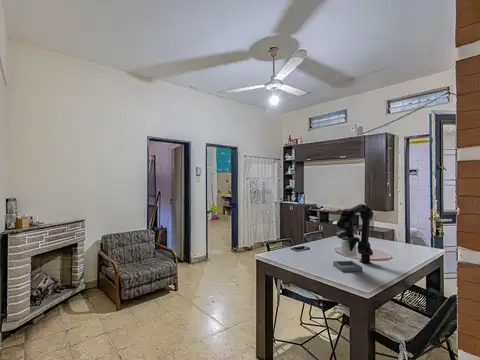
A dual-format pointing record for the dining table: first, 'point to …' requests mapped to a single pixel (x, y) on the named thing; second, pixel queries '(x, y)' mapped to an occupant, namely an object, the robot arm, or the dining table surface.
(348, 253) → the small box
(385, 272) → the dining table surface
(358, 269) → the charcoal tray
